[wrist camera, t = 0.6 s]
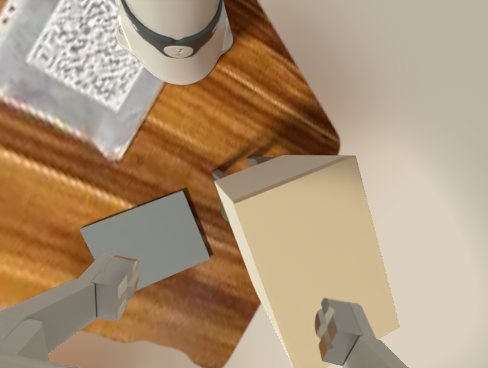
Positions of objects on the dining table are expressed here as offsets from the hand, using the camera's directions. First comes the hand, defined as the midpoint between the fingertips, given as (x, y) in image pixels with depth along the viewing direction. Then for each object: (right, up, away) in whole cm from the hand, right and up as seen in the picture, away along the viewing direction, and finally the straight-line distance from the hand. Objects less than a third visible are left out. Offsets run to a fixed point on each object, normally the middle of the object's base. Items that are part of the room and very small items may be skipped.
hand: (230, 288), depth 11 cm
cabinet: (+1, +1, +37) cm, 37 cm away
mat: (-17, -6, +34) cm, 39 cm away
